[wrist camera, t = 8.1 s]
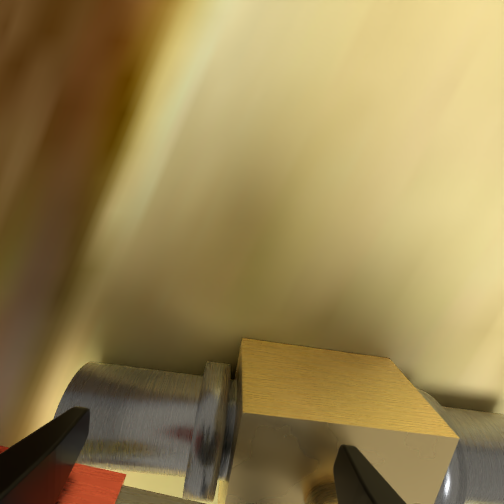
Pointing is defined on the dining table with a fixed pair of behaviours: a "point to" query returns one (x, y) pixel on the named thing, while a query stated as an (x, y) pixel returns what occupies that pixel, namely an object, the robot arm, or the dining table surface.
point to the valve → (287, 428)
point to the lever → (106, 489)
